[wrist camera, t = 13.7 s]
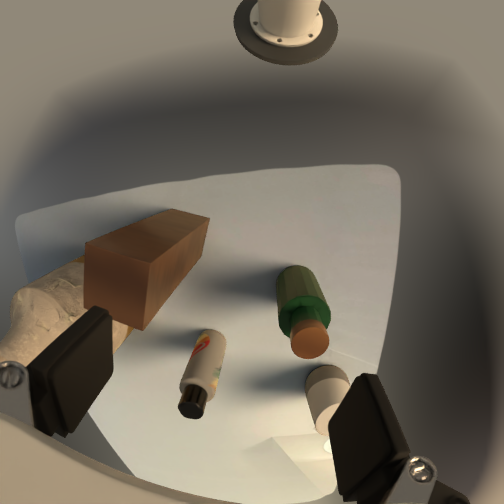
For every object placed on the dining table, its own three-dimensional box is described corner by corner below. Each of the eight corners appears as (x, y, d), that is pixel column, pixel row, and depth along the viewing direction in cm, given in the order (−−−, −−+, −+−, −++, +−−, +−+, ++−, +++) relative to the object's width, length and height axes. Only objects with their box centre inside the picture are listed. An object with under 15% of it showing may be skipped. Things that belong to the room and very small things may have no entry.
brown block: (171, 208, 48) (85, 242, 23) (210, 218, 48) (150, 263, 23) (164, 246, 50) (83, 308, 25) (201, 256, 50) (143, 331, 25)
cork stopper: (294, 304, 36) (298, 323, 31) (327, 312, 36) (335, 331, 31) (284, 334, 37) (285, 355, 33) (315, 340, 37) (321, 361, 33)
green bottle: (282, 260, 49) (290, 302, 33) (321, 271, 49) (345, 315, 33) (271, 297, 51) (272, 351, 35) (308, 306, 51) (324, 361, 35)
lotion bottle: (192, 336, 54) (162, 405, 35) (215, 324, 53) (191, 394, 34) (210, 356, 55) (188, 428, 36) (232, 345, 54) (217, 418, 35)
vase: (62, 291, 54) (-29, 357, 24) (94, 231, 50) (-26, 284, 20) (120, 346, 56) (48, 440, 27) (161, 294, 52) (75, 400, 23)
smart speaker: (351, 380, 56) (367, 425, 42) (315, 398, 57) (323, 444, 44) (335, 353, 54) (350, 399, 40) (295, 373, 55) (301, 421, 42)
